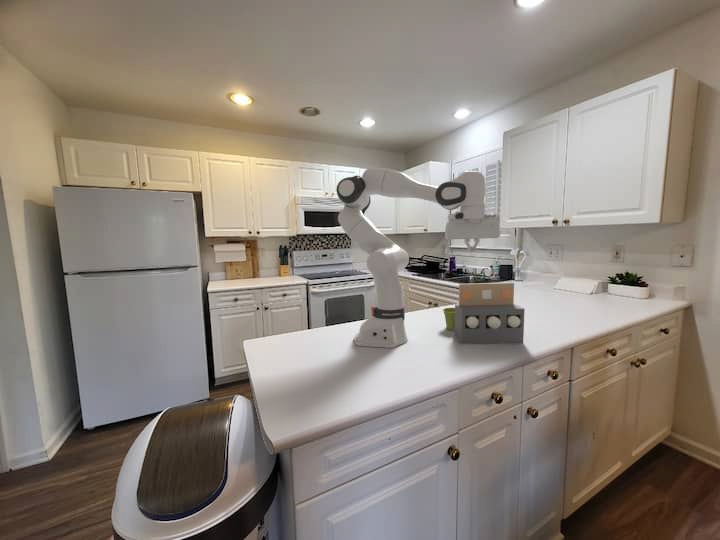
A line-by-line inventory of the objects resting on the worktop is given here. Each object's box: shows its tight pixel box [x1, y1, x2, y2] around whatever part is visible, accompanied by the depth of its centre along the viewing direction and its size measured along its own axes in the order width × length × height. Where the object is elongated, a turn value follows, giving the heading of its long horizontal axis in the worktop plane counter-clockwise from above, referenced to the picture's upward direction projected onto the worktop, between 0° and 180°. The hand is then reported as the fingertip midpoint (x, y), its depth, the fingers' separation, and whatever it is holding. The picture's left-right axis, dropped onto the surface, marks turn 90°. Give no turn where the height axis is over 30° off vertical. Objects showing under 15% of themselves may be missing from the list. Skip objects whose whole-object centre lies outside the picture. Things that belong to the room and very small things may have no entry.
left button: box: [465, 315, 479, 328], centre depth 117 cm, size 4×4×4 cm
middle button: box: [486, 315, 501, 329], centre depth 116 cm, size 4×4×4 cm
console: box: [454, 282, 525, 345], centre depth 121 cm, size 24×10×23 cm, turn 88°
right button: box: [507, 315, 520, 327], centre depth 117 cm, size 4×4×4 cm
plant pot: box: [442, 307, 455, 331], centre depth 137 cm, size 9×9×9 cm
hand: (471, 250), depth 115 cm, fingers closed
